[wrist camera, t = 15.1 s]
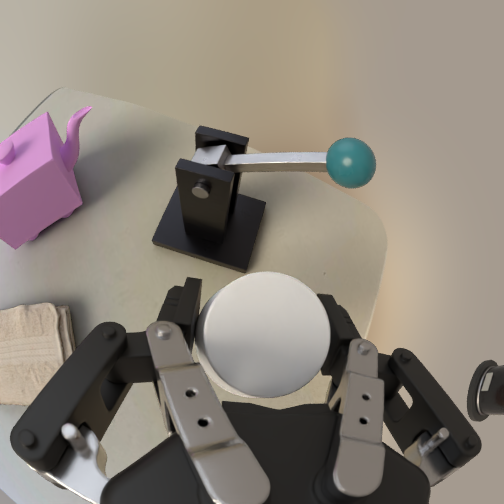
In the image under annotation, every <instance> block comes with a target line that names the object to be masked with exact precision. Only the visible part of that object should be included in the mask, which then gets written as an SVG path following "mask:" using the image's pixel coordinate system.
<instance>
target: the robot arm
mask: <svg viewBox="0 0 504 504" xmlns="http://www.w3.org/2000/svg"><path fill="white" fill-rule="evenodd" d="M201 287H202V279H197V278H190V277H187V279H186V282H185V285H184V287H181V286H174V287H173V288H171V289H170V290H169V291H168V293H167V296H166V298H165V301H164V304H163V306H162V308H161V311H160V313H159V316H158V318H157V321H156V322H154V323H152V324H150V325H149V326H148V327H147V330H146V331H144V332H136V333H126V330H125V328H124V327H123V326H122V325H120V324H118V323H115V322H104V323H101V324H99V325H97V326H96V327H95V328H94V329H93V330H92V331H91V333H90V334H89V335H88V336H87V337H86V338H85V339H84V340H83V341H82V343H81V344H80V345H79V346H78V347H77V348H76V349H75V351H74V352H73V353H72V354H71V355H70V356H69V358H68V359H67V360H66V361H65V362H64V363H63V365H62V366H61V367H60V368H59V369H58V371H57V372H56V373H55V374H54V375H53V377H52V378H51V379H50V380H49V382H48V383H47V384H46V385H45V387H44V388H43V389H42V390H41V392H40V393H39V394H38V395H37V397H36V398H35V399H34V401H33V402H32V403H31V404H30V406H29V407H28V408H27V410H26V411H25V412H24V414H23V415H22V416H21V418H20V419H19V420H18V422H17V423H16V425H15V426H14V427H13V429H12V431H11V435H10V442H11V446H12V448H13V450H14V451H15V453H16V454H17V455H18V456H19V457H21V458H22V459H23V460H24V461H25V462H26V463H27V464H28V465H29V466H30V467H31V468H32V469H33V470H34V471H36V472H37V473H38V474H39V475H41V476H42V477H43V478H45V479H46V480H48V481H49V482H51V483H53V484H54V485H55V486H57V487H59V488H61V489H68V490H70V491H71V492H73V493H74V494H76V495H78V496H80V497H81V498H83V499H85V500H87V501H88V502H90V503H92V504H429V498H430V487H433V486H435V485H436V484H438V483H439V482H441V481H443V480H444V479H445V478H447V477H448V476H450V475H451V474H453V473H454V472H455V471H457V470H458V469H459V468H461V467H462V466H464V465H465V464H466V463H467V462H469V461H470V460H471V459H472V458H474V457H475V456H476V455H477V454H478V453H479V452H480V450H481V440H480V438H479V436H478V435H477V433H476V432H475V430H474V429H473V427H472V426H471V425H470V424H469V422H468V421H467V419H466V418H465V417H464V415H463V414H462V413H461V412H460V410H459V409H458V408H457V406H456V405H455V404H454V403H453V401H452V400H451V399H450V397H449V396H448V395H447V394H446V392H445V391H444V390H443V389H442V387H441V386H440V385H439V384H438V382H437V381H436V380H435V379H434V377H433V376H432V375H431V374H430V373H429V372H428V370H427V369H426V368H425V367H424V366H423V364H422V363H421V362H420V361H419V360H418V359H417V357H416V356H415V355H414V354H413V353H412V352H411V351H409V350H407V349H404V348H397V349H395V350H394V351H393V353H392V355H391V356H390V355H386V354H381V353H378V350H377V348H376V346H375V345H374V344H372V343H371V342H370V341H368V340H365V339H362V338H361V336H360V335H359V333H358V331H357V329H356V327H355V325H354V324H353V322H352V320H351V319H350V316H349V314H348V313H347V311H346V310H345V309H344V308H343V307H342V306H340V305H337V303H336V301H335V299H334V298H333V296H332V295H327V294H317V297H318V298H319V299H320V301H321V303H322V304H323V306H324V308H325V310H326V313H327V316H328V319H329V324H330V346H329V351H328V354H327V357H326V359H325V361H324V364H323V366H322V367H321V369H320V370H321V373H322V375H331V376H332V379H331V381H330V383H329V386H328V390H327V394H326V398H325V402H324V404H303V405H299V406H295V407H290V408H286V409H281V410H277V409H272V408H268V407H263V406H259V405H255V404H252V403H241V402H228V401H222V405H221V403H220V402H219V400H218V398H217V396H216V394H215V392H214V390H213V388H212V386H211V384H210V382H209V379H208V377H207V375H206V373H205V371H204V369H203V367H202V365H201V364H200V363H199V362H198V363H195V362H194V360H193V358H192V355H191V354H192V349H193V343H194V338H195V329H196V324H197V320H198V317H199V309H200V298H201ZM141 382H152V383H153V387H154V390H155V393H156V397H157V400H158V403H159V407H160V410H161V413H162V417H163V421H164V425H165V428H166V431H167V434H168V438H167V439H165V440H164V441H163V442H161V443H160V444H159V445H157V446H156V447H155V448H153V449H152V450H151V451H149V452H148V453H147V454H145V455H144V456H143V457H141V458H140V459H138V460H137V461H136V462H134V463H133V464H131V465H130V466H129V467H127V468H126V469H124V470H123V471H121V472H120V473H118V474H117V475H115V476H114V477H112V478H111V479H109V478H107V476H106V473H105V466H106V462H107V454H106V451H105V449H104V448H103V446H102V445H101V443H100V441H101V439H102V438H103V436H104V434H105V432H106V430H107V428H108V427H109V425H110V423H111V421H112V420H113V418H114V416H115V414H116V412H117V411H118V409H119V407H120V405H121V404H122V402H123V400H124V398H125V397H126V395H127V393H128V391H129V390H130V388H131V386H132V385H133V383H141ZM402 386H404V387H405V389H406V390H407V391H408V393H409V394H410V395H411V397H412V399H413V404H412V406H411V408H410V409H409V408H408V406H407V405H406V403H405V402H404V400H403V399H402V398H401V396H400V395H399V393H398V391H399V389H401V387H402ZM475 406H476V410H477V412H478V414H480V415H504V365H502V366H491V367H488V368H487V369H486V370H485V371H484V372H483V374H482V375H481V377H480V380H479V383H478V386H477V390H476V397H475ZM383 421H384V423H385V424H386V426H387V428H388V429H389V431H390V433H391V434H392V436H393V438H394V439H395V441H396V442H397V444H398V446H399V447H400V449H401V451H402V453H403V454H404V457H403V456H402V455H400V454H399V453H398V452H396V451H394V450H393V449H392V448H390V447H389V446H387V445H386V444H385V443H383V442H382V428H383Z"/></svg>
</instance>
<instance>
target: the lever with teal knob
mask: <svg viewBox="0 0 504 504" xmlns="http://www.w3.org/2000/svg"><path fill="white" fill-rule="evenodd" d="M191 161H193V162H197V163H201V164H205V165H208V166H212V167H216V168H219V169H223V170H227V171H230V172H234V173H236V172H275V171H300V172H328V174H329V175H330V177H331V178H332V179H333V180H334V181H335V182H336V183H337V184H339V185H340V186H342V187H345V188H359V187H362V186H364V185H365V184H367V183H368V182H369V181H370V180H371V179H372V177H373V175H374V173H375V170H376V159H375V156H374V154H373V152H372V150H371V148H370V147H369V146H368V145H367V144H366V143H364V142H363V141H361V140H359V139H356V138H343V139H340V140H338V141H336V142H335V143H334V144H332V145H331V147H330V148H329V150H328V152H283V153H257V154H240V155H231V153H230V151H229V149H228V147H227V145H219V146H210V147H202V148H198V149H197V151H196V152H195V154H194V156H193V158H192V160H191Z"/></svg>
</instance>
